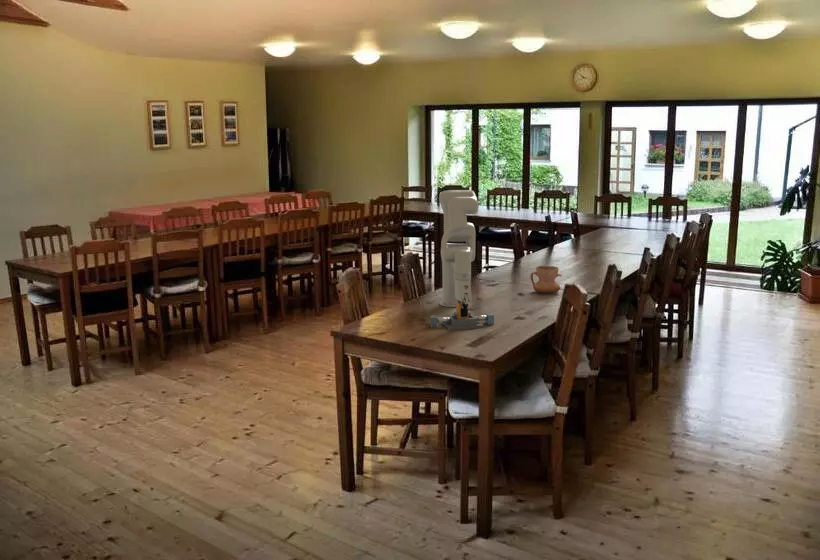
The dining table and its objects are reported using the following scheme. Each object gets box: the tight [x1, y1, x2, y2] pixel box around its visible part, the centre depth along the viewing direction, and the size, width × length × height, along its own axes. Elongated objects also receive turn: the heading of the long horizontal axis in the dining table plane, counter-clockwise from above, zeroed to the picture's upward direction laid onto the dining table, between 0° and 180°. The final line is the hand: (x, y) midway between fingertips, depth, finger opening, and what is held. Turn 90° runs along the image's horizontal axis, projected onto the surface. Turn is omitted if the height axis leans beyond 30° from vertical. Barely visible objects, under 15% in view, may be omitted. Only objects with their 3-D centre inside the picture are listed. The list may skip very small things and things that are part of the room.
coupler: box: [453, 302, 472, 319], centre depth 326 cm, size 4×8×7 cm, turn 105°
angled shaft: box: [429, 315, 450, 328], centre depth 327 cm, size 9×4×4 cm, turn 80°
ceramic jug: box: [529, 265, 563, 295], centre depth 391 cm, size 18×14×14 cm
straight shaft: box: [474, 312, 495, 326], centre depth 330 cm, size 9×4×4 cm, turn 105°
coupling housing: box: [441, 313, 484, 331], centre depth 327 cm, size 11×16×4 cm
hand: (462, 314), depth 327 cm, fingers closed on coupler, 4 cm apart
